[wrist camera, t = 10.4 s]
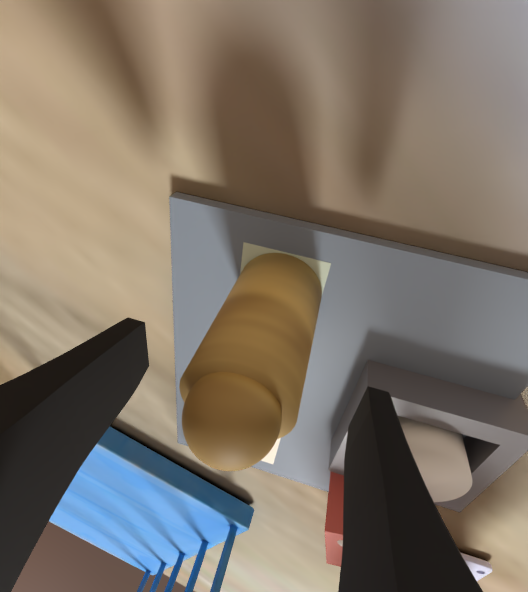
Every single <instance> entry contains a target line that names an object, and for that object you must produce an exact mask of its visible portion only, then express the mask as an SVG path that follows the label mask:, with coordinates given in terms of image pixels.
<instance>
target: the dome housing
mask: <svg viewBox="0 0 528 592" xmlns="http://www.w3.org/2000/svg"><path fill="white" fill-rule="evenodd" d="M368 386H369V387H373V388H376V389H380V390H383V391H387V392H389V394H390V395H391V398H392V401H393V404H394V407H395V410H396V413H397V415H398V416H402V417H405V418H409V419H412V420H415V421H419V422H422V423H426V424H429V425H433V426H436V427H440V428H443V429H446V430H450V431H453V432H457V433H460V434H464V435H466V436H465V438H464V439H463V441H464V446H465V450H466V454H467V458H468V463H469V467H470V471H471V475H472V482H473V483H472V486H471V488H470V490H469V491H468V492H467V493H466V494H465V495H463V496H461V497H459V498H457V499H454V500H450V501H444V502H434V504H435V505H438V506H441V507H444V508H448V509H451V510H454V511H457V512H461V511H462V510H463V509H464V508H465V507H466V506H467V505H469V504H470V503H471V502H472V501H473V500H474V499H475V498H476V497H477V496H478V495H480V494H481V493H482V492H483V491H484V490H485V489H486V488H487V487H488V486H489V485H491V484H492V483H493V482H494V481H495V480H496V479H497V478H498V477H499V476H501V475H502V474H503V473H504V472H505V471H506V470H507V469H508V468H509V467H510V466H512V465H513V464H514V463H515V462H516V461H517V460H518V459H519V458H520V457H522V456H523V455H524V454H525V453H526V452H527V451H528V409H527V407H526V405H525V402H524V400H523V398H522V395H521V394H520V395H519V396H518V397H517V398H516V399H515V400H514V399H510V398H506V397H503V396H499V395H495V394H492V393H488V392H484V391H481V390H477V389H474V388H470V387H466V386H463V385H459V384H455V383H452V382H448V381H444V380H441V379H437V378H433V377H430V376H426V375H422V374H419V373H415V372H411V371H408V370H404V369H400V368H397V367H393V366H389V365H386V364H382V363H378V362H375V361H371V360H368V361H367V363H366V365H365V367H364V369H363V372H362V374H361V376H360V378H359V380H358V383H357V385H356V387H355V389H354V392H353V394H352V396H351V398H350V400H349V403H348V405H347V407H346V409H345V412H344V414H343V416H342V418H341V420H340V423H339V425H338V427H337V429H336V432H335V434H334V436H333V438H332V440H331V449H330V459H329V469H328V471H331V472H334V473H337V474H341V475H344V458H345V449H346V441H347V434H348V427H349V424H350V422H351V420H352V418H353V416H354V414H355V412H356V410H357V407H358V405H359V403H360V401H361V399H362V397H363V395H364V393H365V391H366V389H367V387H368Z"/></svg>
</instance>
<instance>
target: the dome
mask: <svg viewBox="0 0 528 592" xmlns="http://www.w3.org/2000/svg"><path fill="white" fill-rule="evenodd" d="M397 416H398V415H397ZM398 418H399V421H400V424H401V427H402V429H403V432H404V435H405V437H406V440H407V442H408V445H409V447H410V450H411V452H412V455H413V457H414V459H415V462H416V464H417V466H418V469H419V471H420V473H421V476H422V478H423V480H424V482H425V485H426V487H427V489H428V491H429V493H430V495H431V497H432V499H433V501H434V502H444V501H450V500H454V499H457V498H459V497H461V496H463V495H465V494H466V493H467V492H468V491H469V490H470V488H471V486H472V483H473V482H472V475H471V471H470V467H469V463H468V458H467V454H466V450H465V446H464V441H463V437H462V434H460V433H457V432H453V431H450V430H446V429H443V428H440V427H436V426H433V425H429V424H426V423H422V422H419V421H415V420H412V419H409V418H405V417H402V416H398Z"/></svg>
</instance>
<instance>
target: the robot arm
mask: <svg viewBox="0 0 528 592" xmlns="http://www.w3.org/2000/svg"><path fill="white" fill-rule="evenodd" d="M148 367H149V360H148V350H147V340H146V329H145V322H142V321H138V320H135V319H131V318H126V319H124V320H122V321H121V322H119V323H117V324H115V325H114V326H112V327H110V328H108V329H107V330H105V331H103V332H101V333H100V334H98V335H96V336H95V337H93V338H91V339H89V340H88V341H86V342H84V343H82V344H80V345H79V346H77V347H75V348H73V349H71V350H70V351H68V352H66V353H64V354H62V355H61V356H59V357H57V358H55V359H53V360H51V361H49V362H47V363H45V364H43V365H41V366H39V367H37V368H35V369H33V370H31V371H29V372H27V373H25V374H23V375H21V376H19V377H17V378H15V379H13V380H10V381H8V382H6V383H4V384H2V385H0V592H11V591H12V589H13V587H14V585H15V583H16V581H17V579H18V577H19V575H20V573H21V571H22V569H23V567H24V565H25V563H26V562H27V560H28V558H29V556H30V554H31V552H32V550H33V549H34V547H35V545H36V543H37V541H38V539H39V537H40V536H41V534H42V532H43V530H44V528H45V527H46V525H47V523H48V521H49V520H50V518H51V516H52V514H53V513H54V511H55V509H56V507H57V506H58V504H59V502H60V500H61V499H62V497H63V495H64V494H65V492H66V490H67V489H68V487H69V485H70V484H71V482H72V480H73V479H74V477H75V475H76V474H77V472H78V470H79V469H80V467H81V466H82V464H83V463H84V461H85V460H86V458H87V457H88V455H89V454H90V452H91V451H92V450H93V448H94V447H95V446H96V444H97V443H98V441H99V440H100V439H101V437H102V436H103V435H104V433H105V432H106V431H107V429H108V428H109V426H110V425H111V424H112V422H113V421H114V420H115V418H116V417H117V416H118V414H119V413H120V412H121V410H122V409H123V407H124V406H125V405H126V403H127V402H128V400H129V399H130V398H131V396H132V395H133V393H134V392H135V390H136V388H137V387H138V385H139V383H140V381H141V380H142V378H143V376H144V374H145V372H146V370H147V369H148ZM492 571H493V570H492V566H491V564H490V563H489V562H487V561H485V560H482V559H479V558H476V557H473V556H470V555H467V554H464V553H461V552H460V551H459V550H458V548H457V546H456V544H455V542H454V540H453V539H452V537H451V535H450V533H449V531H448V529H447V527H446V526H445V524H444V522H443V520H442V518H441V516H440V514H439V512H438V510H437V508H436V506H435V504H434V501H433V499H432V497H431V495H430V493H429V491H428V489H427V487H426V485H425V482H424V480H423V478H422V476H421V473H420V471H419V469H418V466H417V464H416V462H415V459H414V457H413V455H412V452H411V450H410V447H409V445H408V442H407V440H406V437H405V435H404V432H403V429H402V427H401V424H400V421H399V418H398V416H397V413H396V410H395V407H394V404H393V401H392V398H391V395H390V394H389V392H387V391H383V390H380V389H376V388H373V387H369V386H368V387H367V389H366V391H365V393H364V395H363V397H362V399H361V401H360V403H359V405H358V407H357V410H356V412H355V414H354V416H353V418H352V420H351V422H350V424H349V427H348V434H347V441H346V449H345V458H344V500H343V547H342V562H341V572H340V582H339V591H338V592H483V591H482V589H481V588H480V586H479V584H478V583H477V581H478V580H479V579H481V578H483V577H484V576H486V575H488V574H489V573H491V572H492Z"/></svg>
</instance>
